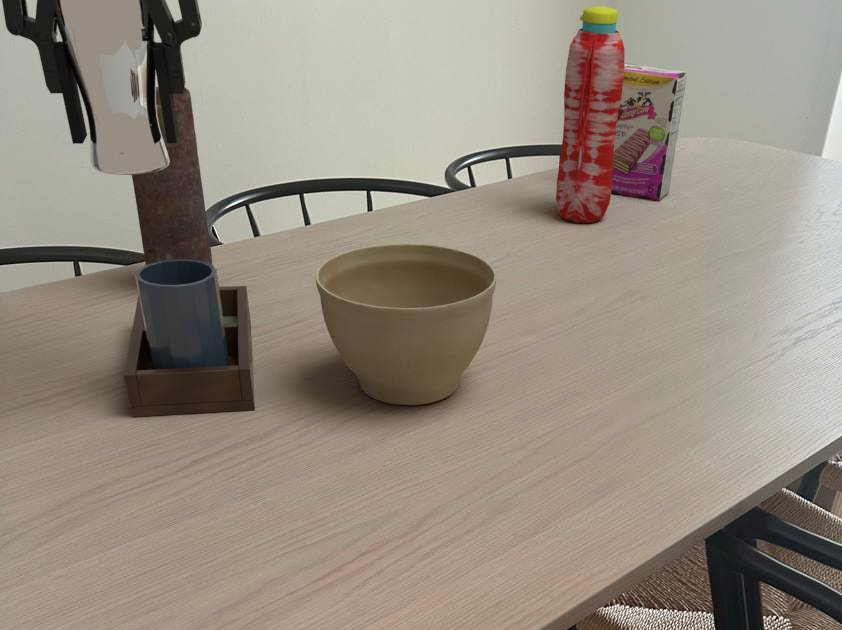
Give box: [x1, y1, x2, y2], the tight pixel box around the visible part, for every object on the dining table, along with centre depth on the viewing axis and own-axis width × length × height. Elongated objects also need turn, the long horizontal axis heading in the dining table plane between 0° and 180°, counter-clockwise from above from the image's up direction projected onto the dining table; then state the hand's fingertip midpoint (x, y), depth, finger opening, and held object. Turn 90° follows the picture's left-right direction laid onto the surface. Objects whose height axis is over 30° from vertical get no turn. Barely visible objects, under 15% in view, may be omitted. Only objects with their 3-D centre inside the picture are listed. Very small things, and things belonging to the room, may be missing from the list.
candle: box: [131, 86, 214, 266], centre depth 107 cm, size 8×7×20 cm
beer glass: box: [53, 0, 170, 176], centre depth 75 cm, size 7×7×15 cm
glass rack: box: [123, 285, 256, 418], centre depth 96 cm, size 11×21×4 cm, turn 11°
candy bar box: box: [611, 62, 688, 202], centre depth 143 cm, size 11×5×16 cm, turn 65°
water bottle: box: [555, 5, 625, 224], centre depth 131 cm, size 12×8×25 cm, turn 158°
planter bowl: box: [314, 242, 497, 406], centre depth 92 cm, size 16×16×11 cm
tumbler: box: [134, 259, 230, 370], centre depth 89 cm, size 7×7×10 cm
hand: (126, 138), depth 79 cm, fingers closed on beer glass, 6 cm apart
